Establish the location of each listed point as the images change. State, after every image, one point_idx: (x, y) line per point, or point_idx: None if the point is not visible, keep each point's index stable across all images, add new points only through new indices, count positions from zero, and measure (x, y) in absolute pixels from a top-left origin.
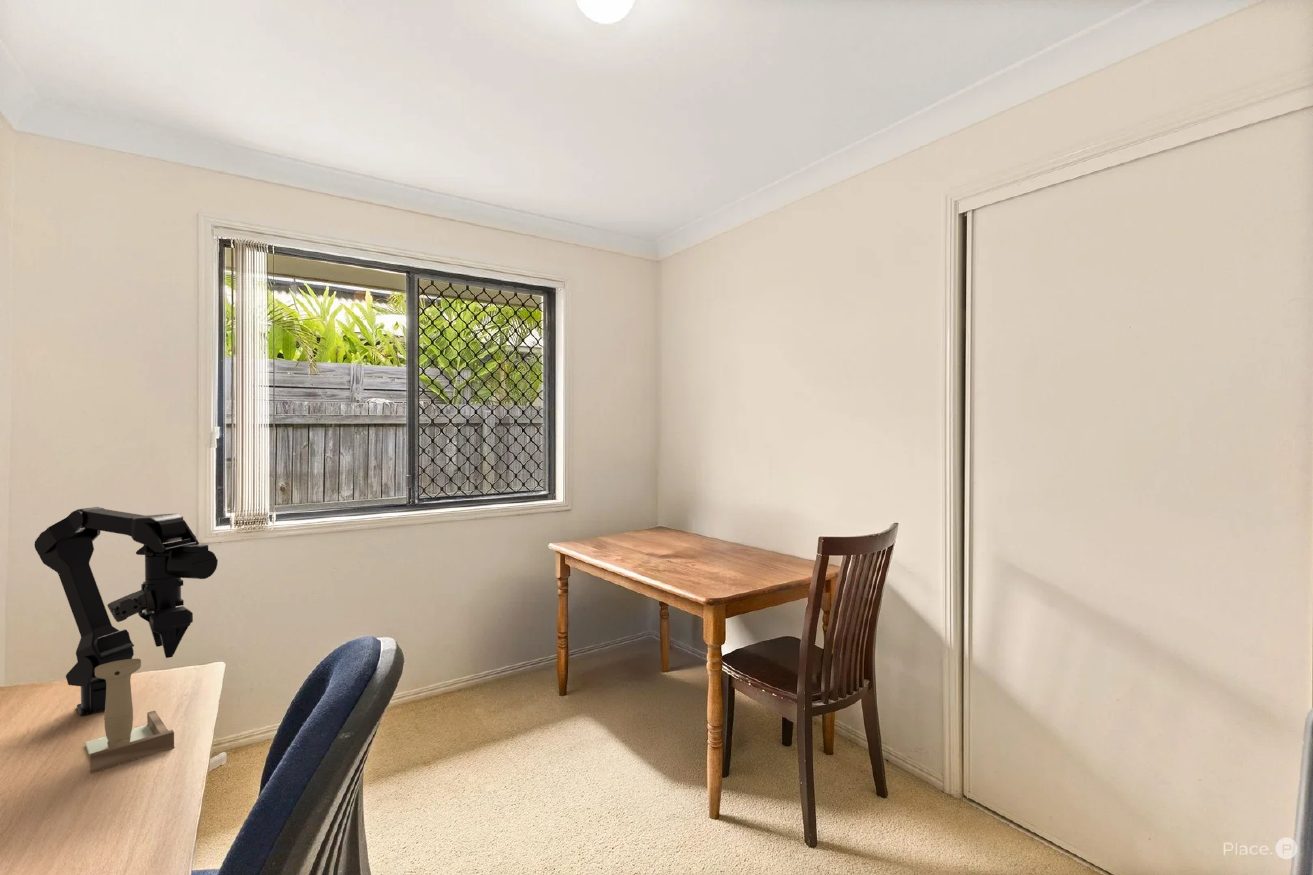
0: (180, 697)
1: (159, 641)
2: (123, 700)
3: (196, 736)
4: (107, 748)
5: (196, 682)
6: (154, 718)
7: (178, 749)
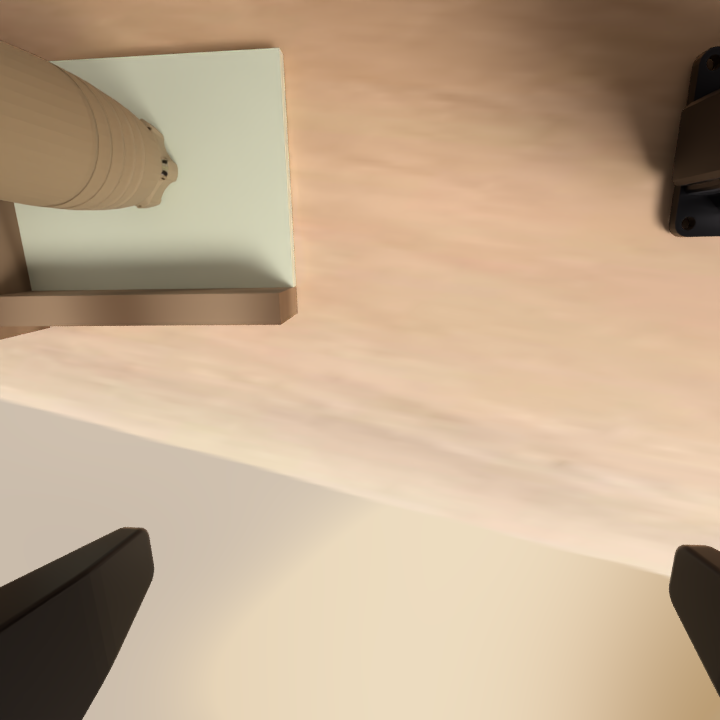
0: (550, 443)
1: (712, 618)
2: None
3: (80, 402)
4: None
5: (689, 528)
6: (175, 305)
7: None
